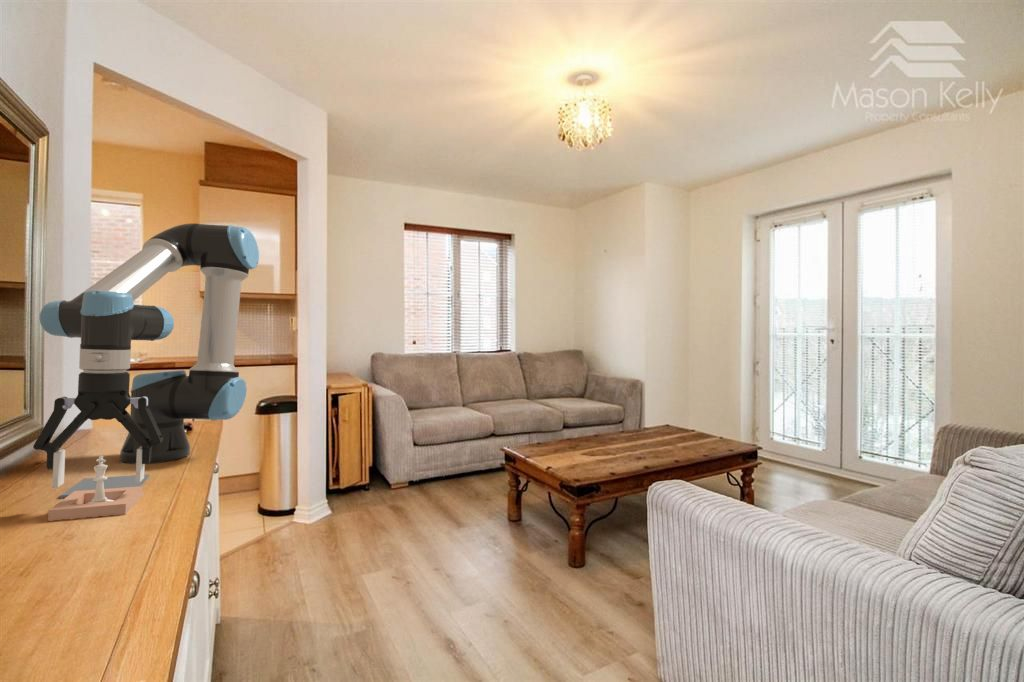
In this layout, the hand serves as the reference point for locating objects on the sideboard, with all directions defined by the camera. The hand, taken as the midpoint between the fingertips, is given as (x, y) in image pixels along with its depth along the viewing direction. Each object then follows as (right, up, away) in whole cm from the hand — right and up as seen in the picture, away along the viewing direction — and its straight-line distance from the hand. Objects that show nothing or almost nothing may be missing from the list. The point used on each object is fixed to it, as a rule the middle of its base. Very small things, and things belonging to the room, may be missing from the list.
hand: (100, 483), depth 91 cm
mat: (-8, -4, +12) cm, 15 cm away
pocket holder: (0, -5, 0) cm, 5 cm away
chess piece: (0, -5, 0) cm, 5 cm away
